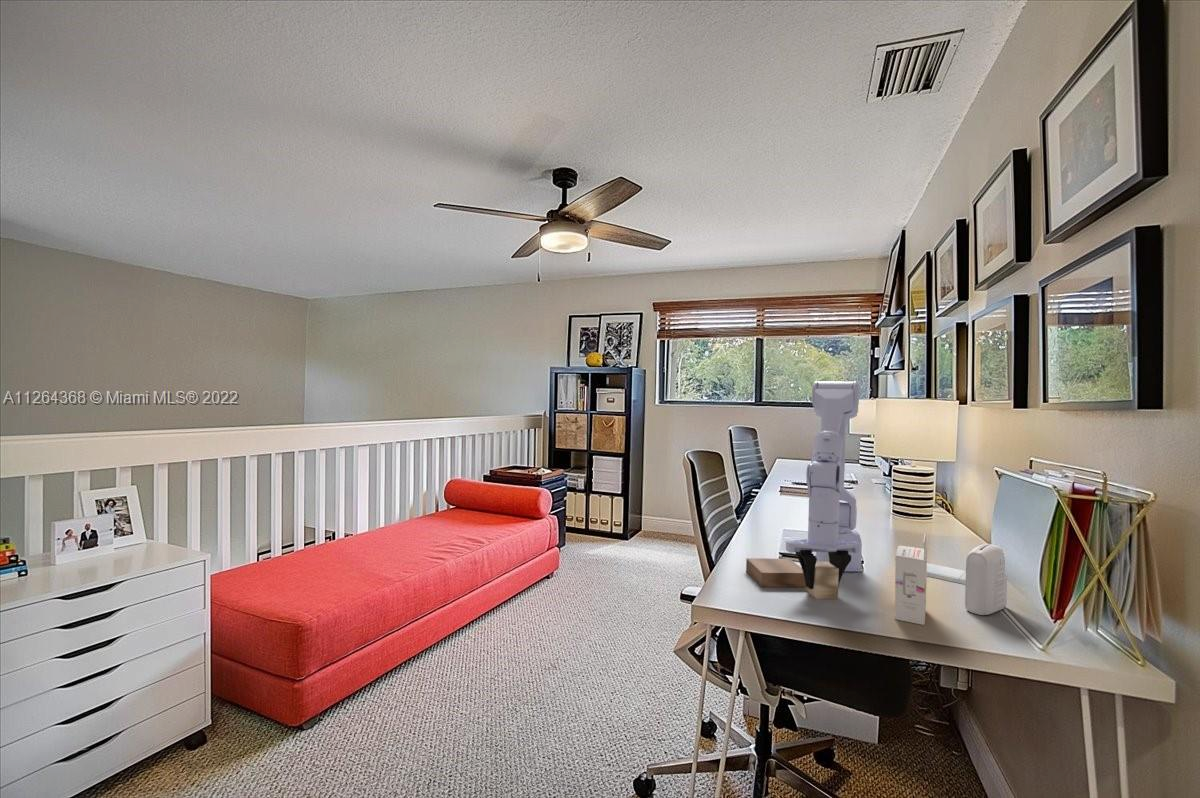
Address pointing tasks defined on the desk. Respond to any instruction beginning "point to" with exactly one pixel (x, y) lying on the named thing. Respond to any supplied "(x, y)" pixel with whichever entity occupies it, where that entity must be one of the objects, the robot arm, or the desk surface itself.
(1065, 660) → the desk surface
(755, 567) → the walnut base
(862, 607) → the desk surface
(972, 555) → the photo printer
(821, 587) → the maple block
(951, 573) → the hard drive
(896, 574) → the ink cartridge box
